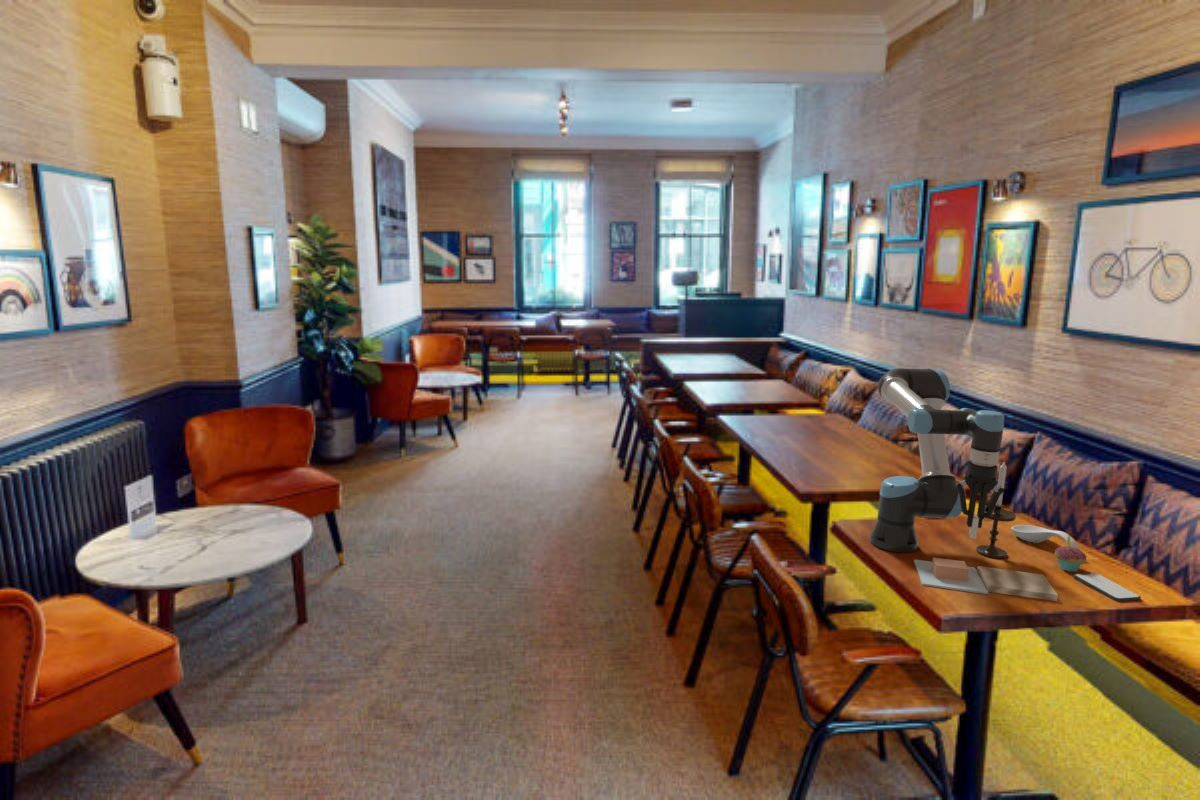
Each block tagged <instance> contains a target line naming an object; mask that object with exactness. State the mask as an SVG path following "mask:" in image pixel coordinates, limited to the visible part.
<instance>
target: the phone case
mask: <svg viewBox="0 0 1200 800" xmlns="http://www.w3.org/2000/svg"><path fill="white" fill-rule="evenodd" d="M1073 579H1074V580H1076V581H1077V582H1079V583H1081V584H1083V585H1084V586H1086V587H1088V588H1090V589H1091V590H1094V591H1096V592H1098V593H1099V594H1101V595H1104V596H1105V597H1107V598H1109V599H1110V600H1112V601H1115V602H1121V603H1124V602H1137V601H1141V596H1140V595H1139V594H1137V593H1135V592H1133V591H1131V590H1130V589H1127V588H1126V587H1124V586H1122V585H1120V584H1118V583H1116V582H1115V581H1113V580H1110V579H1109V578H1108V577H1105V576H1104V575H1101V574H1099V573H1097V572H1088V573H1087V572H1083V573H1074V574H1073Z"/></svg>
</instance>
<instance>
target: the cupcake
mask: <svg viewBox="0 0 1200 800" xmlns="http://www.w3.org/2000/svg"><path fill="white" fill-rule="evenodd" d="M1067 534H1068V543H1066V545H1067V546H1065V545H1063V546H1059V547H1057V548H1056V549H1054V556H1055V558H1057V561H1058V565H1059V566H1058V567H1059V568H1060V569H1061V570H1064V571H1066V572H1078V570H1079V569H1080V567H1081V566H1082V565H1083V564H1084V563H1086V562H1087V555H1086V553H1084V552H1083V551H1082V550H1081V549H1080V548H1079V549H1080V550H1079V549H1077V548H1075V547H1071V546H1070V536H1071V535H1070V534H1069V533H1067Z"/></svg>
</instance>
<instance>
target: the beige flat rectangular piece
mask: <svg viewBox="0 0 1200 800" xmlns="http://www.w3.org/2000/svg"><path fill="white" fill-rule="evenodd" d="M976 568H977V569H976V570H977V572H978V574H979V576H980V578H981V580H982V582H983V583H984V585H985V587H986V589H987V591H988V593H994V594H1003V595H1009V596H1010V595H1011V596H1016V597H1017V596H1018V597H1023V598H1030V599H1036V600H1037V599H1039V600H1045V601H1051V602H1052V601H1053V602H1058V598H1059V594H1058V593H1057V591H1056V590H1055V589H1054V587H1053V586H1052V585H1051V584H1050V583H1049V581H1048V579H1047V578H1046V576H1044V574H1043V573H1042V574H1040V573H1034V572H1033V573H1032V572H1028V571H1019V570H1012V569H1011V570H1010V569H1004V568H995V567H989V566H988V567H987V566H981V565H980V566H979V565H978V566H977V567H976Z"/></svg>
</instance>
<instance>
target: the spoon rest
mask: <svg viewBox="0 0 1200 800" xmlns="http://www.w3.org/2000/svg"><path fill="white" fill-rule="evenodd" d="M1010 528H1011V531H1012V533H1013V534H1014V535H1015V536H1016V537H1018V538H1019V539H1021V540H1022V541H1024V540H1025V541H1024V542H1027V541H1028V542H1027V543H1031V542H1033V543H1032V544H1040V543H1043V542H1045V541H1047V540H1048V539H1051V538H1052V537H1059V538H1061V539H1062V540H1063V541H1064V543H1066V544H1067V543H1068V534H1069V533H1067V532H1064V531H1062V530H1053V529H1048V528H1045V527H1041V526H1037V525H1029V524H1016V525H1013V526H1011V527H1010ZM1069 536H1070V546H1071V547H1075V548H1077V549H1079V550H1081V549H1080V546H1079V545H1078V543H1077V542H1076V540H1075V539H1074V538H1073V537H1072V536H1071V535H1069Z"/></svg>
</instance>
